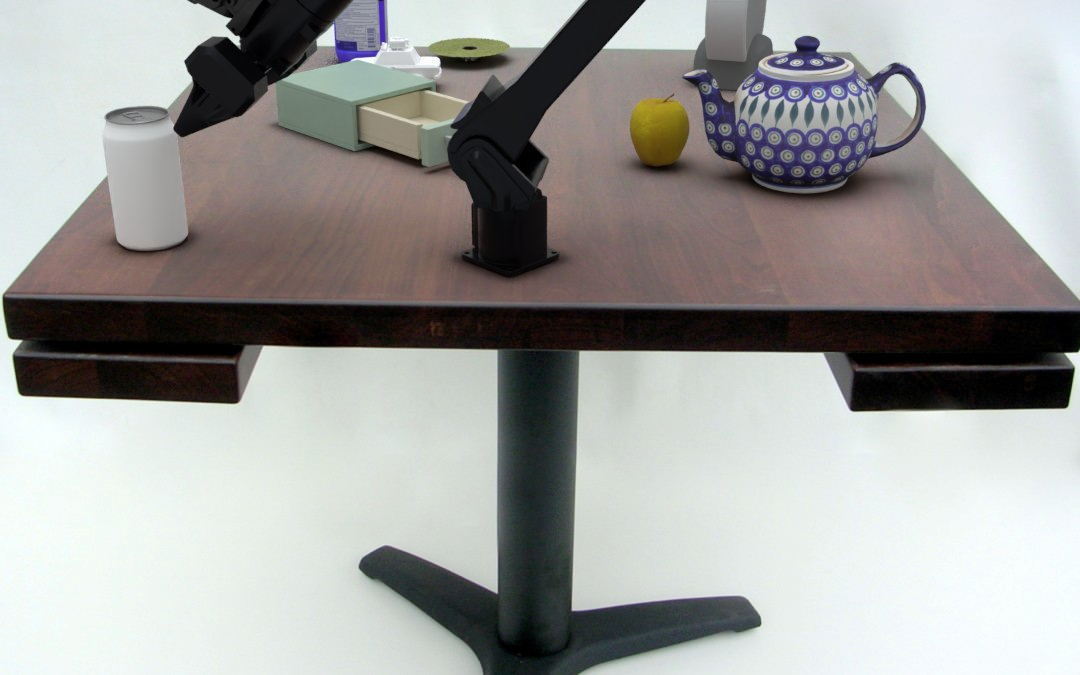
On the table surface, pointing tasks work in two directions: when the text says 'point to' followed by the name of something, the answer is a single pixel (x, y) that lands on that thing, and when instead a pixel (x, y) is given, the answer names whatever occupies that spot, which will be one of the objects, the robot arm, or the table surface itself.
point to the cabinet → (339, 98)
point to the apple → (659, 130)
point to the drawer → (411, 124)
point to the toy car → (405, 59)
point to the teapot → (802, 118)
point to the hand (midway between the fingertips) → (197, 118)
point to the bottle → (361, 30)
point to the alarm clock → (733, 41)
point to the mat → (468, 47)
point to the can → (144, 178)
